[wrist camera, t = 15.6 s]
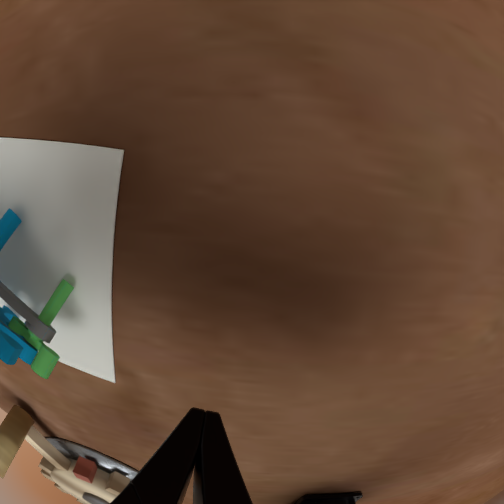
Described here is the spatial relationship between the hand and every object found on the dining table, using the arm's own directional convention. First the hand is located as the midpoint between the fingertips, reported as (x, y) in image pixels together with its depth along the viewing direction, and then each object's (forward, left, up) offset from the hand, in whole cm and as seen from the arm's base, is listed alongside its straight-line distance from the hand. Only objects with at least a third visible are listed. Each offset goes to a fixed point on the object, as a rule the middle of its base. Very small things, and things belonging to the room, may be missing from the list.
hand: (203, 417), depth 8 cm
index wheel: (+11, +25, -5) cm, 28 cm away
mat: (+11, 0, -6) cm, 12 cm away
